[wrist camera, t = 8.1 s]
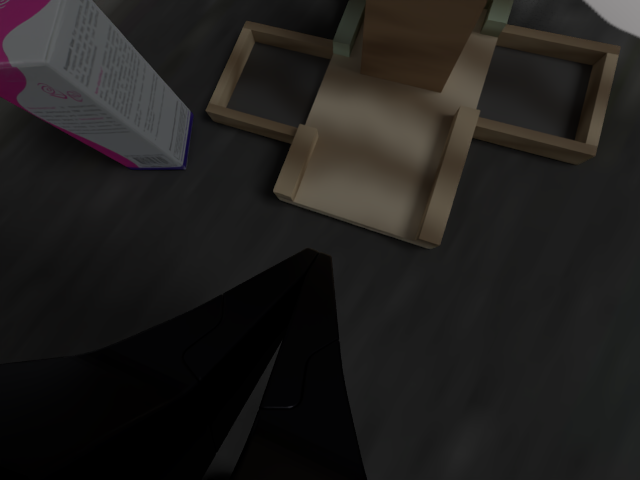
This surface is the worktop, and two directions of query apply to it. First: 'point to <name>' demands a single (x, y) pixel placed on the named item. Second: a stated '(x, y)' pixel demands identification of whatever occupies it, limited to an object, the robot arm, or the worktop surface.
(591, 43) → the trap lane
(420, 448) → the worktop surface
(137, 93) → the supplement box
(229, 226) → the worktop surface
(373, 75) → the walnut block
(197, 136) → the worktop surface
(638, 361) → the worktop surface
